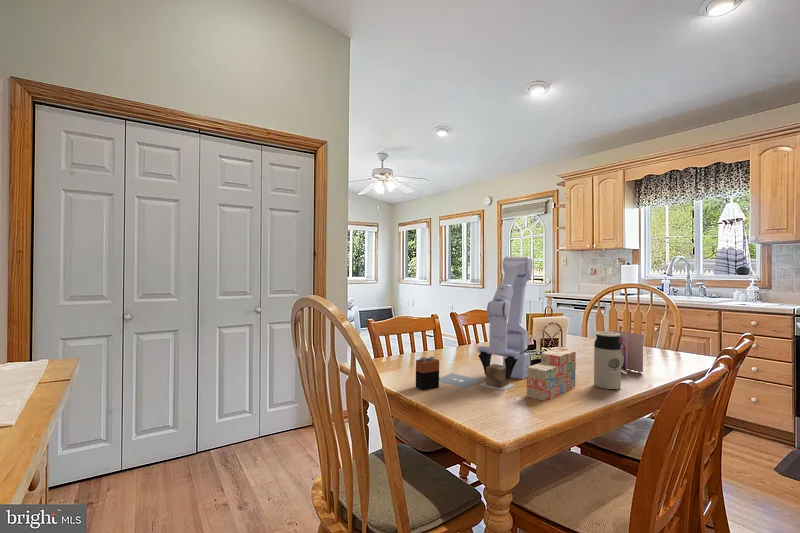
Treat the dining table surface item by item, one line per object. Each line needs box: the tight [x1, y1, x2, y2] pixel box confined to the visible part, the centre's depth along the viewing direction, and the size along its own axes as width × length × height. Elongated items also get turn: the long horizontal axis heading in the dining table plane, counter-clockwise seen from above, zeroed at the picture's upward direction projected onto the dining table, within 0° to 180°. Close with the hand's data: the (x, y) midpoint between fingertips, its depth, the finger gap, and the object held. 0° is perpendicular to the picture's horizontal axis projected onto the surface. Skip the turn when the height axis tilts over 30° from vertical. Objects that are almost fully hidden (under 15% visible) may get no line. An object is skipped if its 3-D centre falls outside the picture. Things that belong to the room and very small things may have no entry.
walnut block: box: [485, 363, 510, 388], centre depth 135 cm, size 6×6×6 cm
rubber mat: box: [479, 381, 516, 392], centre depth 135 cm, size 9×8×1 cm
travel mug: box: [593, 331, 622, 390], centre depth 135 cm, size 8×8×18 cm
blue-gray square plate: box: [439, 372, 484, 389], centre depth 141 cm, size 13×12×1 cm
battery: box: [415, 356, 440, 391], centre depth 132 cm, size 4×7×10 cm, turn 121°
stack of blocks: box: [526, 348, 577, 402], centre depth 129 cm, size 21×6×12 cm, turn 134°
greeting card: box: [614, 330, 644, 374], centre depth 155 cm, size 11×7×15 cm, turn 174°
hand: (497, 376), depth 135 cm, fingers open, 7 cm apart
